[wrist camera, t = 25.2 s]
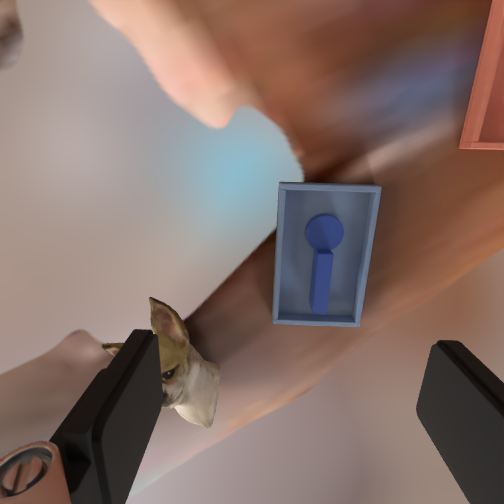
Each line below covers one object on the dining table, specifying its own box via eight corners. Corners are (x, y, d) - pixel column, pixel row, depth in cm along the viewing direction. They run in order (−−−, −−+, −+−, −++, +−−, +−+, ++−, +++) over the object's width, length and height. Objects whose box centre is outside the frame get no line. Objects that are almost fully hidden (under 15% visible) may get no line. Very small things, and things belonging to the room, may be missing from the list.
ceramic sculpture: (174, 466, 33) (67, 381, 31) (194, 406, 42) (110, 336, 39) (242, 414, 31) (130, 317, 29) (248, 361, 39) (162, 283, 37)
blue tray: (279, 181, 32) (280, 183, 30) (375, 184, 32) (382, 186, 30) (271, 315, 37) (272, 324, 35) (354, 318, 37) (359, 327, 35)
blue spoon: (332, 303, 36) (337, 314, 34) (298, 301, 36) (301, 312, 34) (343, 213, 33) (350, 218, 30) (306, 212, 33) (310, 217, 30)
